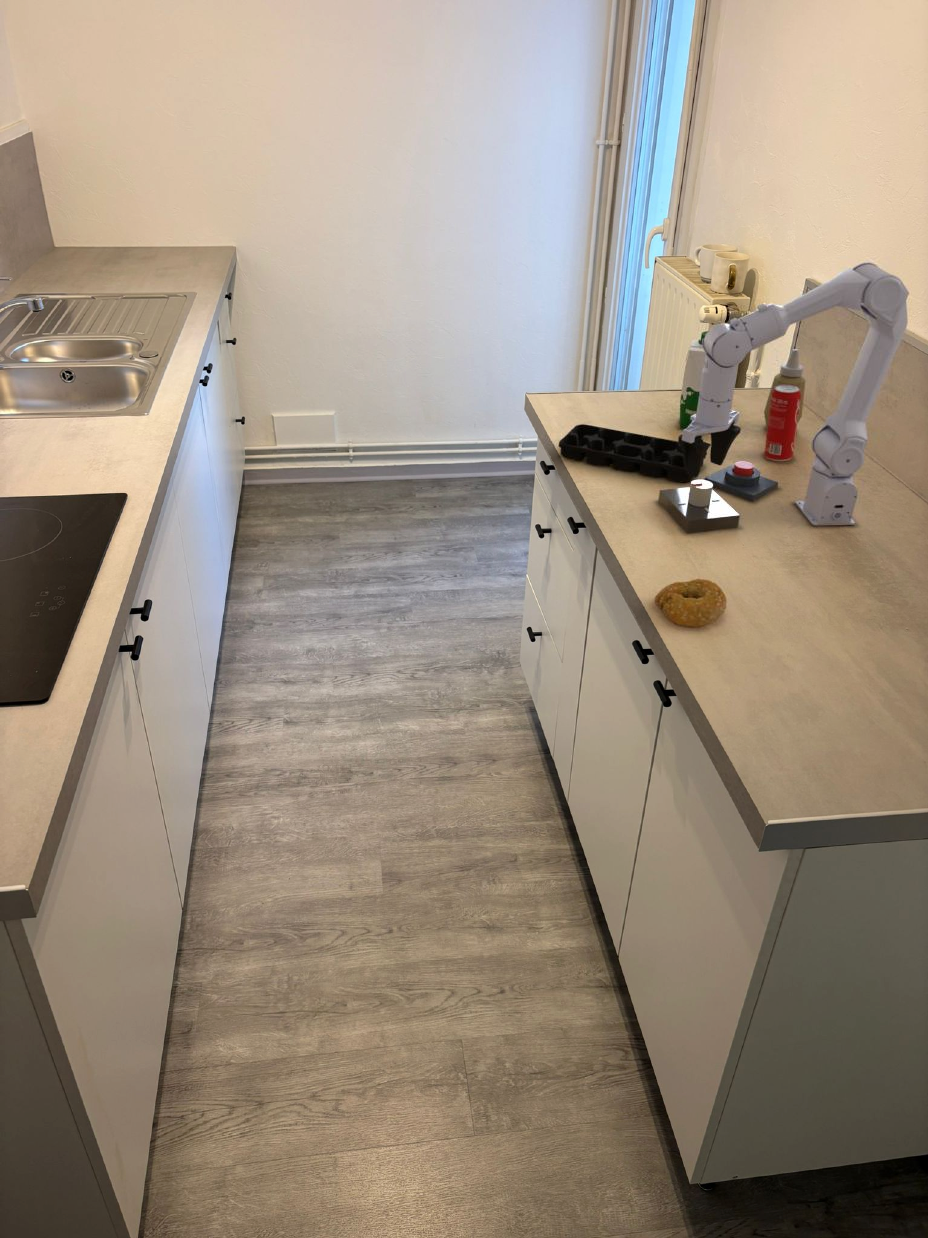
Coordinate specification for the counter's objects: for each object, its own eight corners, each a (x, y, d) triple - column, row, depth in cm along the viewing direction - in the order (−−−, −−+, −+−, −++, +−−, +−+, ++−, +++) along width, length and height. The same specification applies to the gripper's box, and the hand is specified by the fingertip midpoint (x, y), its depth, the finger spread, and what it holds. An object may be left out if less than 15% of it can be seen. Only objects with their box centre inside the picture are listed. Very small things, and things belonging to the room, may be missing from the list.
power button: (755, 473, 188) (757, 465, 187) (745, 478, 186) (747, 470, 185) (739, 467, 190) (741, 459, 189) (729, 472, 188) (731, 464, 187)
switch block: (777, 488, 189) (780, 473, 187) (752, 502, 184) (755, 486, 182) (729, 471, 196) (731, 456, 194) (703, 483, 190) (706, 469, 189)
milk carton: (718, 420, 219) (732, 332, 208) (715, 435, 212) (729, 344, 201) (679, 416, 221) (691, 328, 210) (674, 430, 214) (687, 340, 203)
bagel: (672, 588, 157) (676, 562, 154) (735, 611, 151) (740, 585, 148) (641, 613, 150) (644, 586, 147) (705, 638, 144) (710, 611, 142)
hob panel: (737, 528, 175) (740, 514, 173) (686, 533, 173) (689, 519, 171) (706, 497, 185) (708, 484, 184) (657, 502, 183) (659, 489, 182)
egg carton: (703, 487, 189) (705, 469, 187) (552, 470, 195) (553, 452, 193) (706, 453, 203) (709, 436, 201) (565, 437, 209) (567, 421, 207)
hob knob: (704, 496, 180) (707, 477, 177) (713, 505, 176) (717, 486, 174) (684, 498, 179) (687, 479, 177) (693, 507, 175) (696, 488, 173)
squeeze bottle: (753, 425, 217) (768, 346, 207) (781, 420, 220) (797, 342, 210) (777, 438, 211) (793, 357, 201) (806, 433, 214) (823, 352, 204)
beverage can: (793, 463, 199) (808, 393, 191) (760, 461, 200) (774, 391, 192) (790, 452, 204) (805, 384, 196) (759, 450, 205) (772, 381, 197)
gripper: (720, 381, 173) (708, 452, 181) (672, 400, 165) (661, 473, 172) (754, 391, 169) (741, 463, 176) (706, 411, 160) (694, 486, 168)
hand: (704, 469), depth 174 cm, fingers open, 7 cm apart
